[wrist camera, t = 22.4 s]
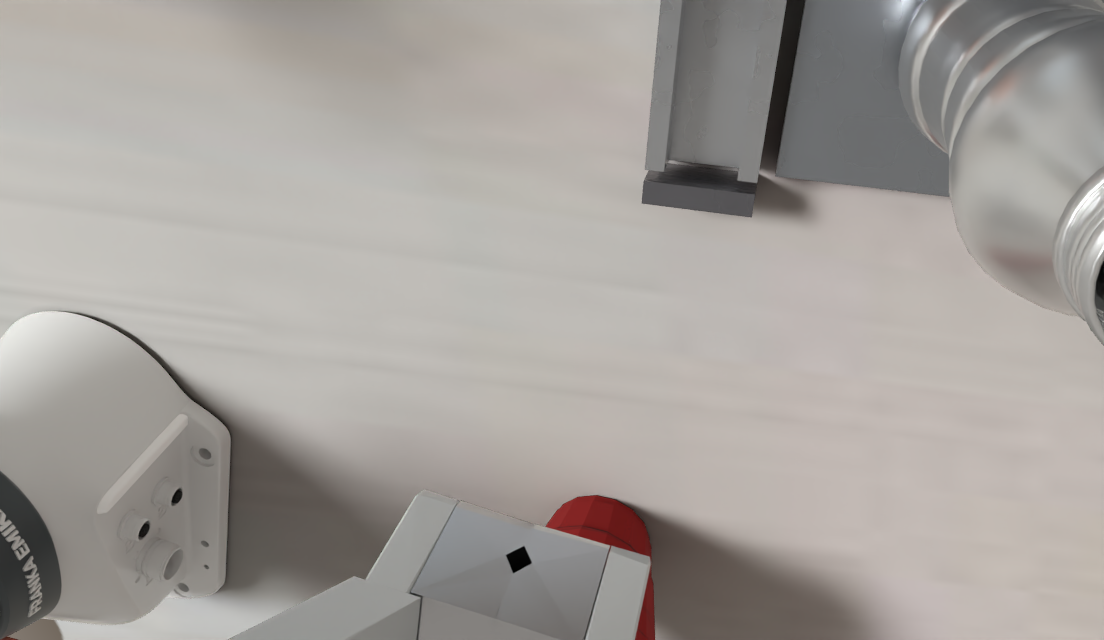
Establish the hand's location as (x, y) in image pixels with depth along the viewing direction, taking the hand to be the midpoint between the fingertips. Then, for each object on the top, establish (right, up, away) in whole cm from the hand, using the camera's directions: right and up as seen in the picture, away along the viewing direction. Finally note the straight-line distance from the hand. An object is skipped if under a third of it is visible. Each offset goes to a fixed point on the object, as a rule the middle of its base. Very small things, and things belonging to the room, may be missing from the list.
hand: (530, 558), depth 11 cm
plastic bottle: (+16, +13, +21) cm, 29 cm away
